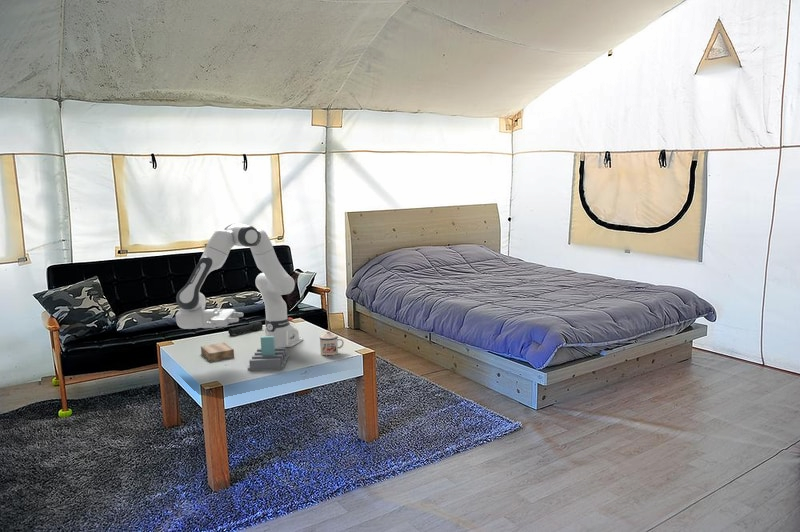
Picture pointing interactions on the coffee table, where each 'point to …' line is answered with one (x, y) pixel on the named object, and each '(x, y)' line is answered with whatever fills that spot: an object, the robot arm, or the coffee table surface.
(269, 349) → the aqua rubber eraser
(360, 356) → the coffee table surface
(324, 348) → the teacup with lid
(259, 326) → the flashlight
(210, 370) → the coffee table surface
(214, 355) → the block
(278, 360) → the slotted rack
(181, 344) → the coffee table surface
